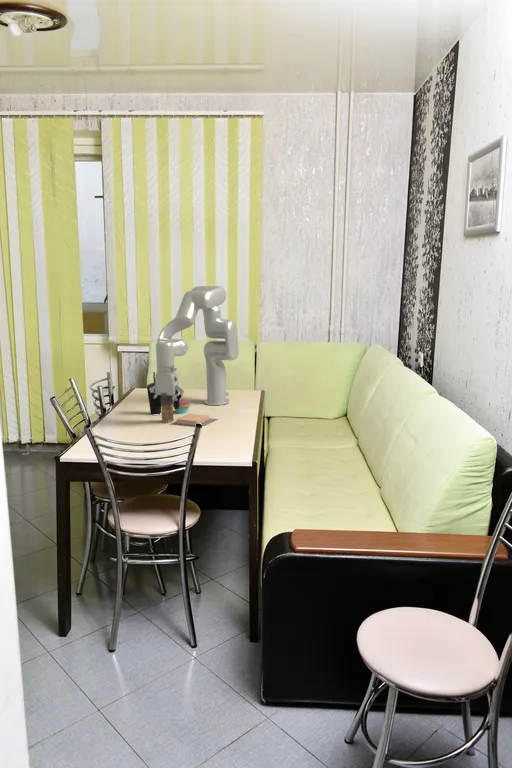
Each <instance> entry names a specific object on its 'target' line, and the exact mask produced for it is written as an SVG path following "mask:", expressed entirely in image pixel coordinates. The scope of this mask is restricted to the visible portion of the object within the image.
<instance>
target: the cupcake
mask: <svg viewBox="0 0 512 768" xmlns="http://www.w3.org/2000/svg"><path fill="white" fill-rule="evenodd" d="M178 395H179V394H178ZM174 401H175V399H173V408H174ZM179 404H180V406H179V409H176V410H175V409H174V410H175V413H176V414H188V409H189V408H190V407H191V401H189V399H186V398H181V399H180V400H179Z"/></svg>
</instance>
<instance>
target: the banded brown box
mask: <svg viewBox="0 0 512 768" xmlns="http://www.w3.org/2000/svg"><path fill="white" fill-rule="evenodd" d="M173 402H174V398H173V396H167V393H161V420H162V422H161V423H162V424H163V423H164V424H171V423H173V422H175V421H174V407H173Z"/></svg>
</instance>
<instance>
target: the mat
mask: <svg viewBox="0 0 512 768" xmlns="http://www.w3.org/2000/svg"><path fill="white" fill-rule="evenodd" d="M216 421H219V418H210V417H209V420H208V421H206V422H204V423H202V426H204V427H206V426H209V425H210V424H212V423H214V422H216ZM168 425H171V426H178V427H179V426H180V427H190V428H196V427H195V426H193V425H183V424H177V420H176V421H172V422H170V423H168Z"/></svg>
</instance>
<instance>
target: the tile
mask: <svg viewBox="0 0 512 768" xmlns="http://www.w3.org/2000/svg"><path fill="white" fill-rule="evenodd" d="M209 418H210V415H206V414H197V413H187V414H185V415H183V416H181V417H179V418H176V421H177V424H183V425H193V426H195V424H197V423H201V424H202V423H204V422H206V421H208V420H209Z"/></svg>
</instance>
